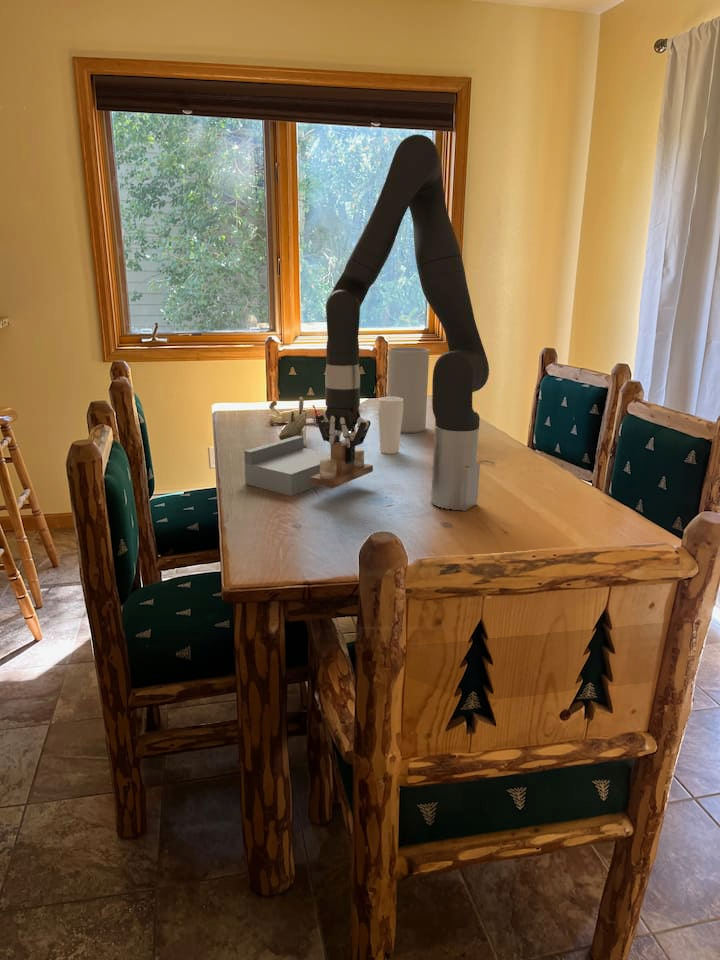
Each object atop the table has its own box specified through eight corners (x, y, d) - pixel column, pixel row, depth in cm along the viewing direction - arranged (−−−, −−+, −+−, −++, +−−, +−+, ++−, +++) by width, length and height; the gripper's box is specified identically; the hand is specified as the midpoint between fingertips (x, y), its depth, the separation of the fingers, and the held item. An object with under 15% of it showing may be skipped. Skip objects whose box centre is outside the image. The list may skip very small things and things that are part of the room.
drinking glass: (399, 456, 187) (401, 401, 182) (375, 454, 188) (376, 400, 183) (403, 449, 193) (405, 397, 188) (379, 448, 194) (380, 395, 190)
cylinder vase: (432, 432, 214) (436, 351, 207) (395, 434, 210) (398, 352, 202) (414, 423, 225) (418, 346, 218) (379, 426, 221) (382, 347, 213)
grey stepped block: (341, 476, 168) (342, 444, 165) (291, 495, 153) (291, 461, 150) (297, 466, 175) (297, 435, 173) (245, 483, 160) (244, 450, 158)
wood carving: (317, 432, 210) (317, 396, 207) (302, 464, 177) (302, 422, 174) (288, 432, 211) (287, 396, 207) (268, 463, 177) (267, 421, 174)
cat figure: (271, 431, 217) (349, 423, 221) (268, 404, 215) (347, 397, 218) (270, 424, 227) (344, 417, 230) (267, 398, 224) (343, 391, 227)
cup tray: (351, 467, 163) (351, 434, 160) (372, 471, 160) (373, 437, 157) (310, 483, 150) (309, 448, 148) (332, 488, 147) (332, 452, 145)
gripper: (379, 385, 148) (378, 462, 153) (326, 379, 156) (327, 453, 161) (360, 390, 142) (359, 470, 147) (306, 384, 150) (307, 460, 155)
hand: (342, 461), depth 154 cm, fingers closed on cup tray, 3 cm apart
